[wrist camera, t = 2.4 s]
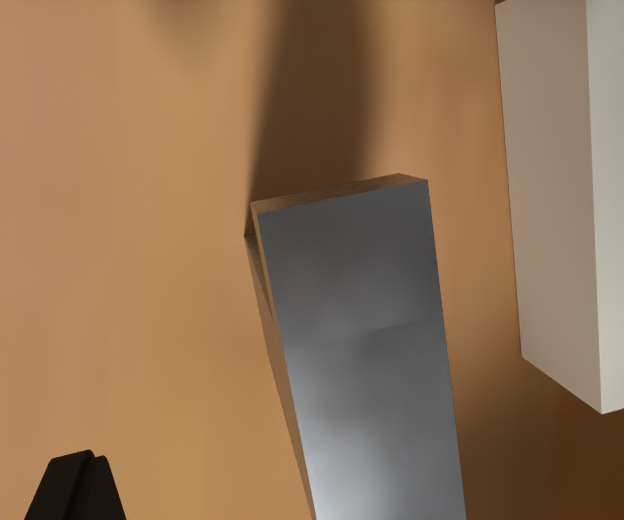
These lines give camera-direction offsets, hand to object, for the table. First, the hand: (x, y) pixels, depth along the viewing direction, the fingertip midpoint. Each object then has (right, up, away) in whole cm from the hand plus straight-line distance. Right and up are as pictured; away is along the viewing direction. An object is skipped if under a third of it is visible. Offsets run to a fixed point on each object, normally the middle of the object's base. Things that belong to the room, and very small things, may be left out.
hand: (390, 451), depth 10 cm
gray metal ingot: (-2, +3, +11) cm, 12 cm away
